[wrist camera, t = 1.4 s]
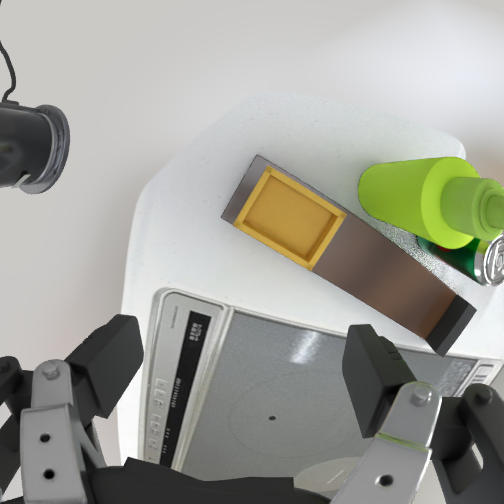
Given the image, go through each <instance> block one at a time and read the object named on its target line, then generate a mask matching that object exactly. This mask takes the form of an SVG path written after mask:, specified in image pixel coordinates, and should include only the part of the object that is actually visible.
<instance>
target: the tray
mask: <svg viewBox="0 0 504 504" xmlns="http://www.w3.org/2000/svg"><path fill="white" fill-rule="evenodd" d="M346 216H347V214H346V213H344V212H343V211H341V210H340V209H338V208H337V207H335V206H334V205H332V204H331V203H329V202H328V201H326V200H324V199H323V198H321V197H320V196H318V195H317V194H315V193H313V192H312V191H310V190H309V189H307V188H305V187H304V186H302V185H301V184H299V183H297V182H296V181H294V180H292V179H291V178H289V177H287V176H286V175H284V174H282V173H281V172H279V171H277V170H276V169H274V168H272V167H270V166H269V165H268V166H267V168H266V169H265V171H264V173H263V174H262V176H261V178H260V179H259V181H258V183H257V184H256V186H255V188H254V190H253V191H252V193H251V195H250V196H249V198H248V200H247V201H246V203H245V205H244V207H243V208H242V210H241V212H240V214H239V215H238V217H237V219H236V220H235V222H234V224H233V226H234V227H236V228H238V229H239V230H241V231H243V232H245V233H246V234H248V235H250V236H251V237H253V238H255V239H257V240H258V241H260V242H262V243H263V244H265V245H267V246H269V247H270V248H272V249H274V250H275V251H277V252H279V253H280V254H282V255H284V256H286V257H287V258H289V259H291V260H292V261H294V262H296V263H297V264H299V265H301V266H302V267H304V268H306V269H308V270H309V271H311V270H312V269H313V267H314V266H315V264H316V263H317V261H318V260H319V258H320V256H321V255H322V253H323V252H324V250H325V249H326V247H327V246H328V244H329V243H330V241H331V239H332V238H333V236H334V235H335V233H336V231H337V230H338V228H339V227H340V225H341V223H342V222H343V220H344V219H345V217H346Z"/></svg>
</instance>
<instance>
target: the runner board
mask: <svg viewBox="0 0 504 504" xmlns="http://www.w3.org/2000/svg"><path fill="white" fill-rule="evenodd" d="M268 165H269V166H270V167H272V168H274V169H276V170H277V171H279V172H281V173H282V174H284V175H286V176H287V177H289V178H291V179H292V180H294V181H296V182H297V183H299V184H301V185H302V186H304V187H305V188H307V189H309V190H310V191H312V192H313V193H315V194H317V195H318V196H320V197H321V198H323V199H324V200H326V201H328V202H329V203H331V204H332V205H334V206H335V207H337V208H338V209H340V210H341V211H343V212H344V213H346V214H347V216H346V217H345V219H344V220H343V222H342V223H341V225H340V227H339V228H338V230H337V231H336V233H335V235H334V236H333V238H332V239H331V241H330V243H329V244H328V246H327V247H326V249H325V250H324V252H323V253H322V255H321V256H320V258H319V260H318V261H317V263H316V264H315V266H314V267H313V269H312V270H311V271H313V272H314V273H316V274H318V275H319V276H321V277H323V278H324V279H326V280H328V281H329V282H331V283H333V284H334V285H336V286H338V287H339V288H341V289H343V290H344V291H346V292H348V293H349V294H351V295H353V296H354V297H356V298H357V299H359V300H361V301H362V302H364V303H366V304H367V305H369V306H371V307H372V308H374V309H376V310H377V311H379V312H381V313H382V314H384V315H385V316H387V317H389V318H390V319H392V320H394V321H395V322H397V323H398V324H400V325H402V326H403V327H405V328H407V329H408V330H410V331H411V332H413V333H415V334H416V335H418V336H420V337H421V338H423V339H424V340H425V339H426V338H427V336H428V335H429V334H430V333H431V331H432V330H433V328H434V327H435V326H436V324H437V323H438V322H439V320H440V319H441V317H442V316H443V315H444V313H445V312H446V310H447V309H448V307H449V306H450V304H451V303H452V301H453V300H454V298H455V297H456V295H457V294H456V293H455V292H454V291H453V290H452V289H450V288H449V287H448V286H447V285H446V284H445V283H443V282H442V281H441V280H440V279H439V278H437V277H436V276H435V275H434V274H433V273H431V272H430V271H429V270H428V269H426V268H425V267H424V266H423V265H421V264H420V263H419V262H418V261H416V260H415V259H414V258H412V257H411V256H410V255H409V254H407V253H406V252H405V251H403V250H402V249H401V248H399V247H398V246H397V245H396V244H394V243H393V242H391V241H390V240H389V239H387V238H386V237H385V236H383V235H382V234H381V233H379V232H378V231H376V230H375V229H374V228H372V227H371V226H369V225H368V224H367V223H365V222H364V221H362V220H361V219H359V218H358V217H357V216H355V215H354V214H352V213H351V212H349V211H348V210H346V209H345V208H343V207H342V206H340V205H339V204H337V203H336V202H334V201H333V200H331V199H330V198H328V197H327V196H325V195H324V194H322V193H320V192H319V191H317V190H316V189H314V188H313V187H311V186H309V185H308V184H306V183H305V182H303V181H301V180H300V179H298V178H296V177H295V176H293V175H292V174H290V173H288V172H287V171H285V170H283V169H281V168H280V167H278V166H276V165H275V164H273V163H271V162H269V161H268V160H266V159H264V158H262V157H261V156H259V155H256V157H255V159H254V160H253V162H252V164H251V166H250V167H249V169H248V171H247V172H246V174H245V176H244V177H243V179H242V181H241V183H240V184H239V186H238V188H237V189H236V191H235V193H234V195H233V196H232V198H231V200H230V202H229V203H228V205H227V207H226V209H225V210H224V212H223V214H222V216H221V218H222V219H224V220H226V221H227V222H229V223H231V224H232V225H233V224H234V222H235V220H236V219H237V217H238V215H239V214H240V212H241V210H242V208H243V207H244V205H245V203H246V201H247V200H248V198H249V196H250V195H251V193H252V191H253V190H254V188H255V186H256V184H257V183H258V181H259V179H260V178H261V176H262V174H263V173H264V171H265V169H266V168H267V166H268Z"/></svg>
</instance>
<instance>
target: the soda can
mask: <svg viewBox="0 0 504 504" xmlns="http://www.w3.org/2000/svg"><path fill="white" fill-rule="evenodd" d="M417 240H418V243H419V246H420V248H421V249H422V250H423V251H424V252H425V253H426V254H428V255H430V256H432V257H434V258H436V259H437V260H439V261H441V262H443V263H445V264H446V265H448V266H450V267H452V268H453V269H455V270H457V271H459V272H460V273H462V274H464V275H465V276H467V277H469V278H470V279H472V280H474V281H475V282H477V283H479V284H480V285H482V286H490V285H491V286H497V285H500V284H501V283H503V282H504V230H503V231H502V233H501V234H500V235H499V236H498V237H497V238H496V239H494V240H492V241H484V240H481V239H478V238H475V237H474V238H473V240H472V241H470V242H469V243H468V244H467V245H465V246H463V247H460V248H456V249H449V248H445V247H442V246H440V245H438V244H436V243H434V242H431V241H429V240H427V239H424V238H422V237H420V236H418V235H417Z"/></svg>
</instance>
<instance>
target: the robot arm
mask: <svg viewBox="0 0 504 504" xmlns="http://www.w3.org/2000/svg"><path fill="white" fill-rule="evenodd" d="M0 4H1V0H0ZM0 51H1V53H2V54H3V55H4V58H5V60H6V63H7V66H8V68H9V71H10V74H11V79H12V86H11V88H10V89H9V90H7V91H6V92H5V94H4V96H3V99H2V102H0V188H1V187H8V186H13V187H12V188H17V187H18V186H19V185H33V184H37V183H39V182H40V181H42V180H43V179H44V178H45V177H46V175H47V174H48V173H49V171H50V169H51V167H52V165H53V162H54V159H55V156H56V152H57V144H58V135H57V129H56V125H55V123H54V121H53V120H52V118H51V117H50V116H48V115H46V114H42V113H41V112H40V109H35V108H30V107H25V106H19V103H18V102H16V101H10V100H7V97H8V95H9V94H10V93H11V92H13V90H14V89H15V87H16V77H15V72H14V69H13V66H12V64H11V61H10V58H9V56H8V54H7V52H6V50H5V49H4V48H3V46H2V44H1V42H0ZM143 357H144V350H143V345H142V340H141V335H140V330H139V324H138V320H137V318H136V317H135V316H130V315H121V314H117V315H115V316H114V317H113V318H112V319H111V320H110V321H109V322H108V323H107V324H106V325H103V326H101V327H100V328H98V329H96V330H94V332H92V333H91V334H90V335H89V336H88V338H86V339H85V340H84V341H83V343H81V344H80V345H79V346H78V347H77V348H76V349H75V350H74V351H73V352H72V353H71V354H70V355H69V356H68V357H67V358H66V359H65V360H64V361H63V360H58V359H56V360H55V359H54V360H48V361H45V362H43V363H42V364H40V365H39V366H37V367H36V369H35V370H34V371H28V370H22V369H21V367H20V364H19V362H18V360H17V359H16V358H15V357H12V356H5V357H1V358H0V406H1V405H2V403H3V402H5V403H6V405H7V407H8V408H9V410H10V412H11V413H12V415H11V416H10V417H9V418H8V420H7V421H6V422H5V424H4V425H3V426H2V427H1V429H0V504H412V502H413V500H414V498H415V495H416V493H417V490H418V488H419V486H420V484H421V481H422V479H423V476H424V474H425V471H426V468H427V465H428V463H429V460H432V462H433V465H434V468H435V470H436V473H437V476H438V479H439V482H440V485H441V488H442V491H443V493H444V497H445V500H446V504H504V401H503V400H502V398H501V397H500V395H499V394H498V393H497V392H496V390H494V389H493V388H491V387H490V386H488V385H485V384H480V383H477V384H472V385H470V386H468V387H467V388H466V390H465V392H464V394H463V396H462V397H442V396H441V394H440V392H439V391H438V389H437V388H435V387H434V386H432V385H431V384H428V383H425V382H420V381H417V380H416V378H415V376H414V375H413V373H412V372H411V370H410V369H409V367H408V365H407V364H406V362H405V361H404V360H403V358H402V356H401V355H400V353H398V350H397V349H396V347H395V346H394V344H393V343H392V342H391V341H389V340H388V339H386V338H385V337H383V336H379V337H378V335H377V334H376V332H375V330H374V329H373V327H372V326H371V325H370V324H361V325H350V327H349V329H348V334H347V340H346V345H345V350H344V355H343V361H342V372H343V377H344V380H345V383H346V386H347V389H348V392H349V395H350V398H351V401H352V404H353V407H354V411H355V414H356V417H357V420H358V424H359V427H360V430H361V433H362V437H363V438H370V437H374V438H373V439H372V441H371V443H370V444H369V446H368V448H367V449H366V451H365V453H364V454H363V456H362V458H361V459H360V461H359V462H358V464H357V465H356V467H355V468H354V470H353V471H352V473H351V474H350V476H349V477H348V479H347V480H346V481H345V483H344V484H343V486H342V487H341V488H340V490H339V491H338V493H337V494H336V495H335V497H334V498H333V499H332V500H330V499H329V498H326V497H324V496H322V495H320V494H317V493H314V492H312V491H308V490H304V489H300V488H294V484H293V477H246V478H238V479H229V480H219V481H201V480H198V479H195V478H193V477H190V476H188V475H185V474H182V473H180V472H178V471H175V470H173V469H170V468H168V467H166V466H163V465H158V464H154V463H150V462H146V461H142V460H138V459H134V458H131V457H128V458H127V460H126V462H125V464H124V466H109V467H107V465H106V463H105V461H104V457H103V454H102V450H101V447H100V443H99V440H98V436H97V432H96V428H95V425H94V422H93V420H92V419H93V418H94V416H95V415H96V416H100V417H102V418H106V419H107V418H108V417H109V415H110V414H111V412H112V411H113V409H114V407H115V406H116V404H117V402H118V401H119V399H120V398H121V396H122V394H123V393H124V391H125V390H126V388H127V387H128V385H129V383H130V382H131V380H132V379H133V377H134V376H135V374H136V372H137V371H138V369H139V368H140V366H141V364H142V362H143ZM474 443H475V444H476V446H477V448H478V450H479V452H480V454H481V456H482V458H483V469H481V466H480V464H479V462H478V460H477V458H476V456H475V454H474V452H473V450H472V448H471V447H472V446H473V445H474ZM20 465H21V478H22V488H23V496H21V497H18V498H15V499H12V500H7V501H3V500H2V496H3V494H4V492H5V491H6V489H7V487H8V485H9V484H10V482H11V480H12V479H13V477H14V475H15V474H16V472H17V470H18V469H19V467H20Z"/></svg>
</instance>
